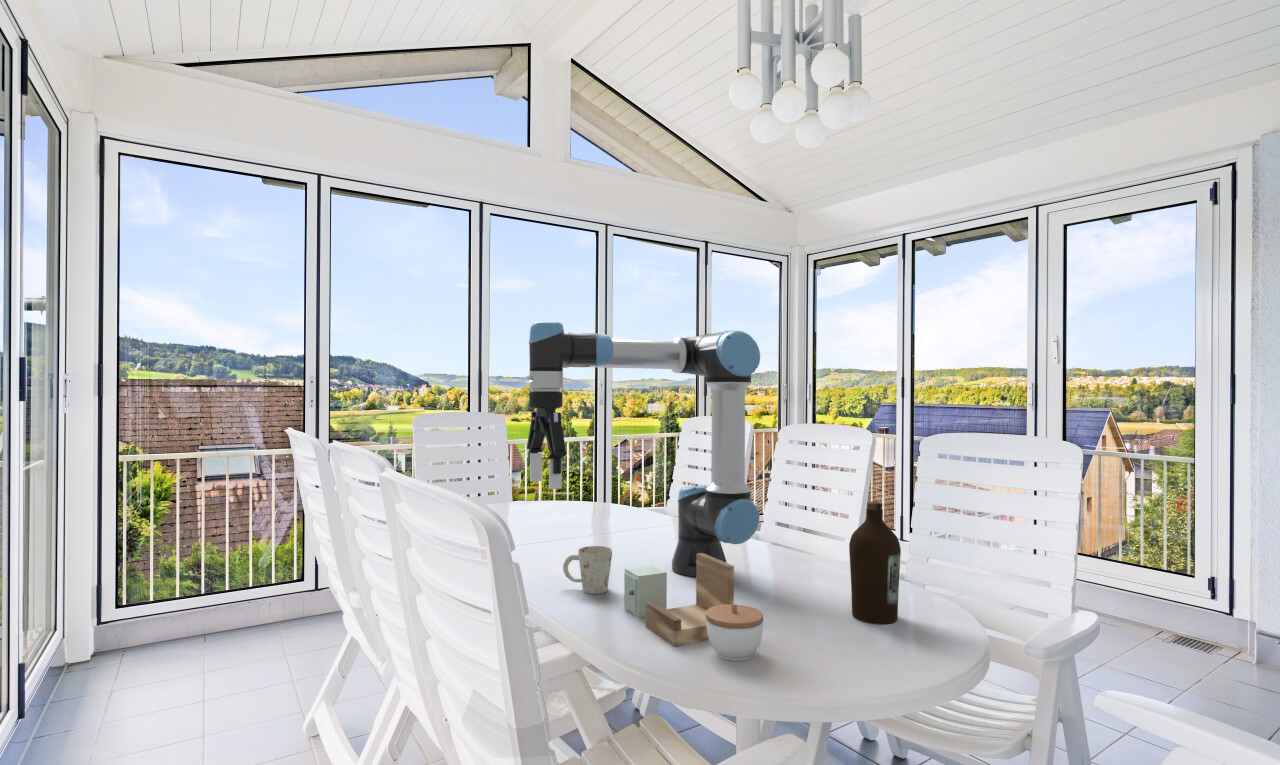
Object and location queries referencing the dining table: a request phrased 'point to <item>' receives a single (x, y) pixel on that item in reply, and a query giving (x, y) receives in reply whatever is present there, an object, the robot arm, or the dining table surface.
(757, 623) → the lidded jar
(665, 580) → the cabinet block
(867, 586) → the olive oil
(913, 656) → the dining table surface
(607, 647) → the dining table surface
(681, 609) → the wooden stand
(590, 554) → the mug
